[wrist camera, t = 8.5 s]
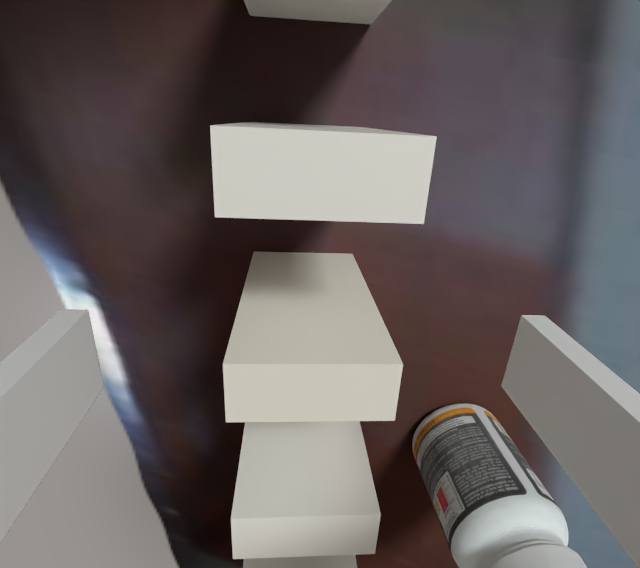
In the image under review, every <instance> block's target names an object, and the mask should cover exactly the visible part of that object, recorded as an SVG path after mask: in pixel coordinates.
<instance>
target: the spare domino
mask: <svg viewBox="0 0 640 568" xmlns="http://www.w3.org/2000/svg"><path fill="white" fill-rule="evenodd" d="M402 368H403V363H402V361H401V359H400V356H399V354H398V352H397V350H396V348H395V346H394V343H393V341H392V339H391V337H390V335H389V332H388V330H387V328H386V326H385V324H384V322H383V319H382V317H381V315H380V313H379V311H378V309H377V306H376V304H375V302H374V300H373V298H372V296H371V293H370V291H369V289H368V287H367V285H366V282H365V280H364V278H363V276H362V274H361V272H360V269H359V267H358V265H357V263H356V261H355V259H354V256H353V254H338V253H297V252H255V251H254V252H253V256H252V259H251V263H250V267H249V270H248V274H247V277H246V281H245V285H244V288H243V292H242V296H241V299H240V303H239V307H238V310H237V314H236V317H235V321H234V325H233V328H232V332H231V336H230V339H229V343H228V347H227V350H226V354H225V357H224V361H223V379H224V398H225V417H226V422H321V421H395V416H396V409H397V402H398V395H399V389H400V382H401V375H402Z"/></svg>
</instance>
